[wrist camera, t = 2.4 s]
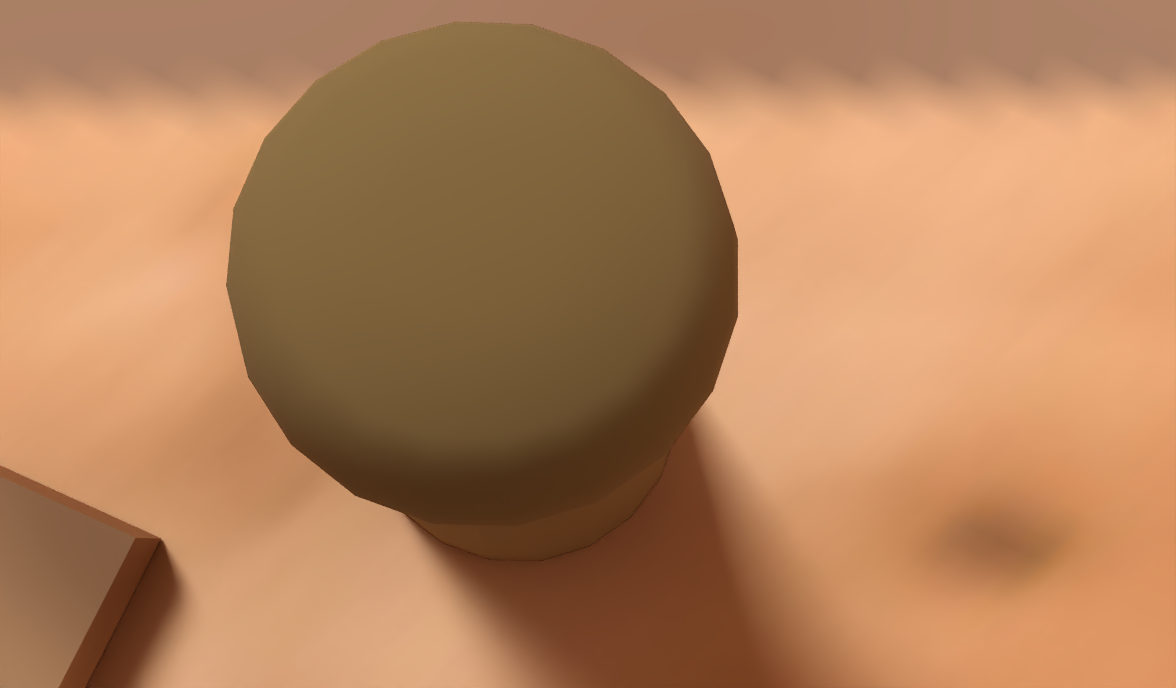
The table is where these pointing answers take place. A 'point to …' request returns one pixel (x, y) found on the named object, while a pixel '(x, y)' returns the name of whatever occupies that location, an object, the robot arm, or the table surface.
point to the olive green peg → (485, 283)
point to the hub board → (61, 583)
